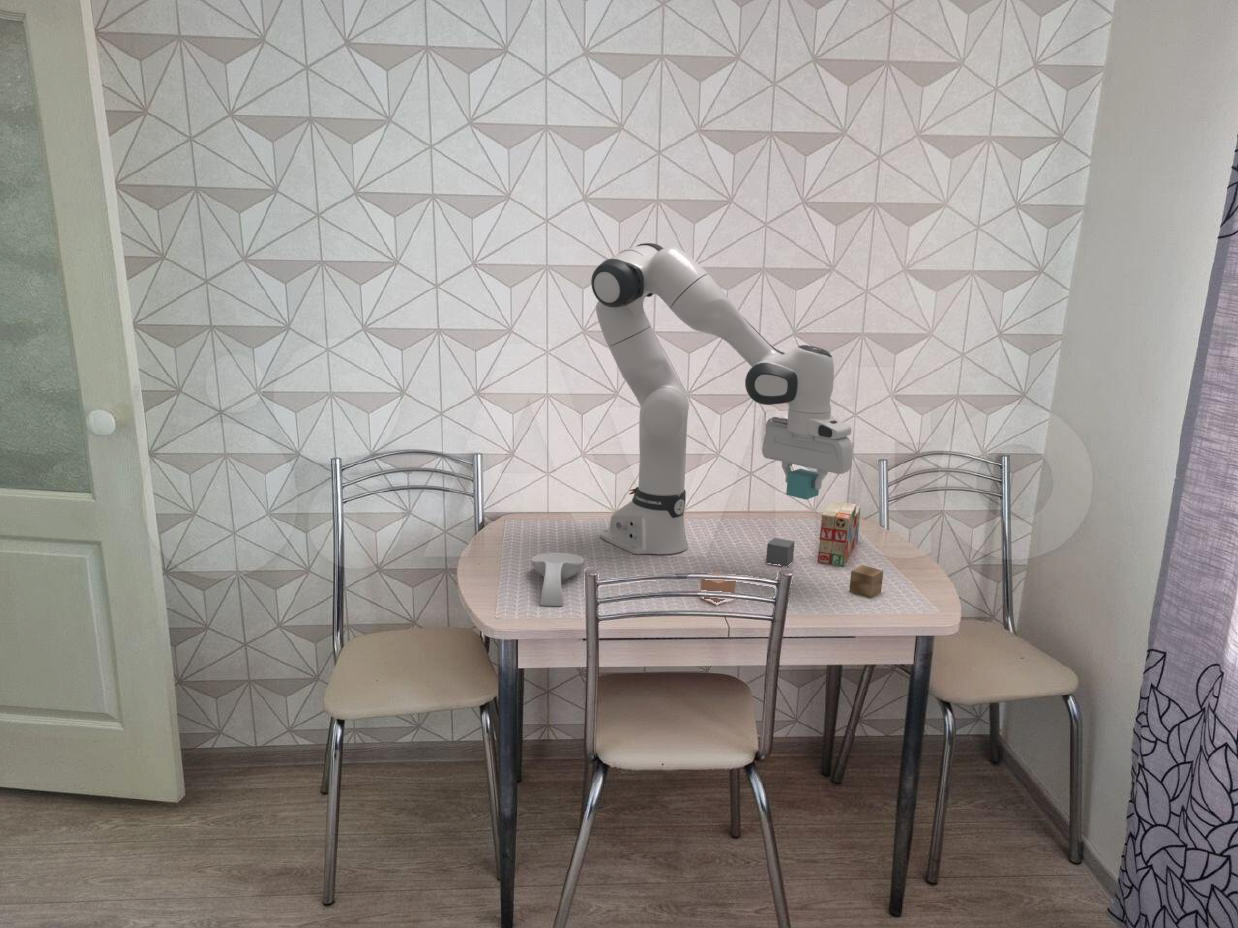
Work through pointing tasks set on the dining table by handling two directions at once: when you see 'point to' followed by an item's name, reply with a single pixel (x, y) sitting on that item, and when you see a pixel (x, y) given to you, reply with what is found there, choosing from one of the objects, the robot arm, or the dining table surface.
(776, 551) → the charcoal cube
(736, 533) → the dining table surface
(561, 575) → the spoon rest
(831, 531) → the stack of blocks
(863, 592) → the walnut cube
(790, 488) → the teal cube
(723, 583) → the terracotta cube
